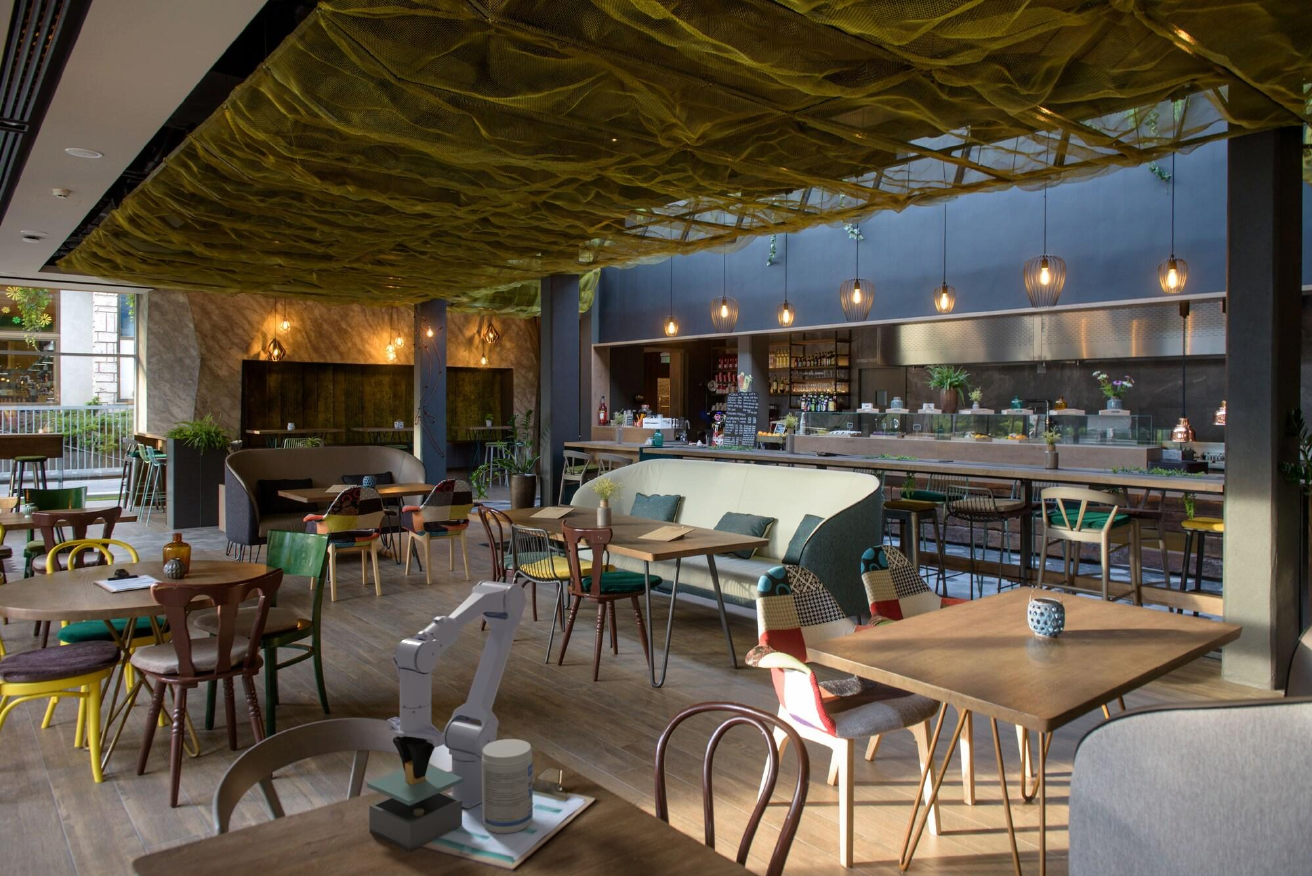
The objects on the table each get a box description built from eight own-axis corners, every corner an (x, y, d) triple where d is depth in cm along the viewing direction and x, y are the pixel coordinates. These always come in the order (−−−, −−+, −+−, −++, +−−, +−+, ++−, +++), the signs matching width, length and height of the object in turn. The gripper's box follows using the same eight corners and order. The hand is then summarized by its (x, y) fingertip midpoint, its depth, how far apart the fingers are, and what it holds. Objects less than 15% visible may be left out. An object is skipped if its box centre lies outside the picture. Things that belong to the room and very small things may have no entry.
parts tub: (421, 808, 171) (421, 783, 171) (462, 826, 164) (462, 800, 164) (369, 831, 161) (369, 805, 161) (410, 851, 154) (410, 824, 154)
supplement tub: (540, 827, 164) (541, 750, 163) (494, 840, 159) (494, 762, 158) (519, 807, 172) (519, 734, 171) (474, 819, 167) (474, 744, 166)
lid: (420, 769, 171) (421, 744, 171) (462, 786, 164) (463, 759, 163) (366, 791, 161) (367, 764, 161) (409, 810, 154) (409, 781, 153)
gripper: (373, 700, 163) (373, 772, 163) (423, 717, 154) (423, 792, 155) (404, 691, 169) (404, 760, 169) (454, 707, 160) (453, 779, 160)
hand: (415, 775), depth 162 cm, fingers closed on lid, 2 cm apart
